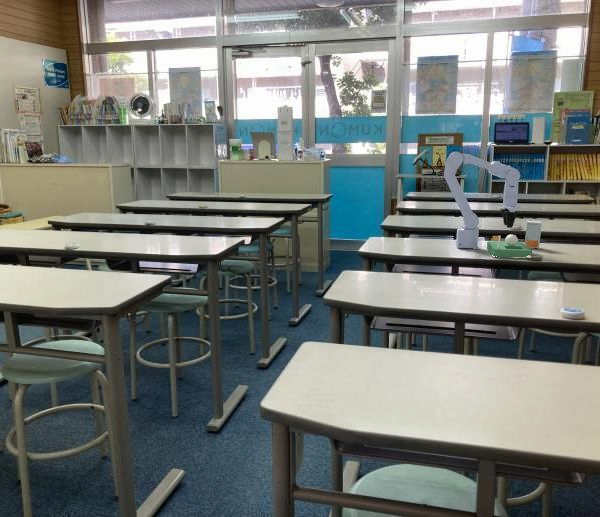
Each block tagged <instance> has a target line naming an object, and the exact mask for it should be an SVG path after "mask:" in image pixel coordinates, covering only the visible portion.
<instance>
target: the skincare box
mask: <svg viewBox="0 0 600 517" xmlns="http://www.w3.org/2000/svg"><path fill="white" fill-rule="evenodd" d="M542 223H543V222H542V221H538V220H537V221H536V220H535V221H533V220H528V221H527V222H526V226H525V227H526V228H525V237H524V238H525V239H524V244H525V245H526V246H528V247H529V248H530V249H533V248H538V249H539V248H540V244H541V243H540V242H541V234H542V233H541V232H542V225H543V224H542Z"/></svg>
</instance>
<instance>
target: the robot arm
mask: <svg viewBox="0 0 600 517" xmlns="http://www.w3.org/2000/svg"><path fill="white" fill-rule="evenodd" d="M462 164H463V165H468V164H471V165H474V166H477V167H480V168H481V169H482V168H483V169H485V170H487V173H488V174H490V175H492V176H496V177H498V178H500V179H505V180H504V181H505V182H504V188H503V202H502V206H501V207H502V209H500V212H501V213H502V220H503V226H506V228H509V229H512V228H513V227H514V224H515V220H516V218H517V216H518V214H519V212H518V211H517V212H516V209H517V208H518V209H519V208H520V207H521V206H520V205H517V204H518V195H519V180H520V178H521V173H520V171H519V170H518V168H514V167H512V166H511V165H510V164H509V165H507V164H503V163H501V161H499V160H493V161H491V162H489V161H487V160H485V159H482V158H480V157H477V156H474V155H472V154H469V153H462V152H461V153H460V152H459V151H452V152H450V154H449V155H448V157H447V158H446V160H445V166H444V172H443V177H444V179H445V181H446V183H447V186H448V188H449V190H450V192H451V193H452V194H451V195H452V196H453V198H454V200H455V202H456V204H457V206H458V208H459V210H460V212H461V215H462V217H463V223H464V225H462V227H461V228H460V227H458V228H457V230H456V240H455V246H456V245H457V246H456V248H457V249H459V248H473V249H472V250H480V247H479V244H478V243H479V230H480V228H479V227H478V225H479V224H480V219H479V218H478V215H477V214H476V213H474V212H473V210H472V207H471V206H470V203H469V202H468V199H467V197H466V196H465V194H464V191H463V189H462V187H461V185H460V183H459V181H458V178H457V177H456V174H457V171H458V168H459V167H460V166H461V165H462Z"/></svg>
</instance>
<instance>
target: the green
mask: <svg viewBox="0 0 600 517" xmlns="http://www.w3.org/2000/svg"><path fill="white" fill-rule="evenodd" d="M501 238H502V236H501V235H492V240H486V242H487V243H486V250H487V249H488V250H489V251H488V250H487V251H488V253H489V254H490V253H491V254H492V255H493V256H495V257H496V256H497V257H526V256H528V255H532V256H533V250H532V248H529V247H528V246H526V245H525V242H523V241H518V242H517V244H516V245H514V246H508V245H507V244H506V242H505V241H501ZM491 254H490V255H491ZM492 255H491V256H492ZM493 256H492V257H493Z"/></svg>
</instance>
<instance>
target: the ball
mask: <svg viewBox="0 0 600 517" xmlns="http://www.w3.org/2000/svg"><path fill="white" fill-rule="evenodd" d="M504 242H506V244H507V245H508V246H514V245H516V244H517V242H519V239H518V237H517V235H515V234H508V235H507V236H506V237H505V239H504Z"/></svg>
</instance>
